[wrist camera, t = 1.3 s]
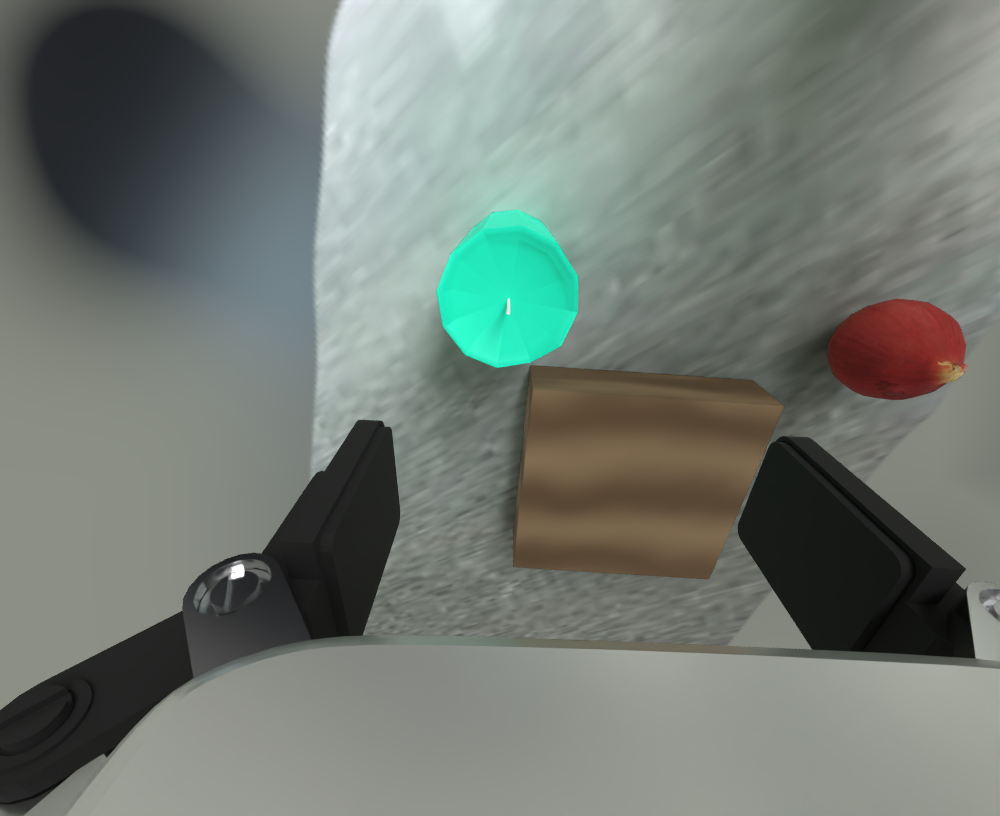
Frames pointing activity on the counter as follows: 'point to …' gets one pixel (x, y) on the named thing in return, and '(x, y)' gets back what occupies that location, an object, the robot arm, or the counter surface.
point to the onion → (897, 350)
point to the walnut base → (635, 469)
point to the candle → (508, 291)
